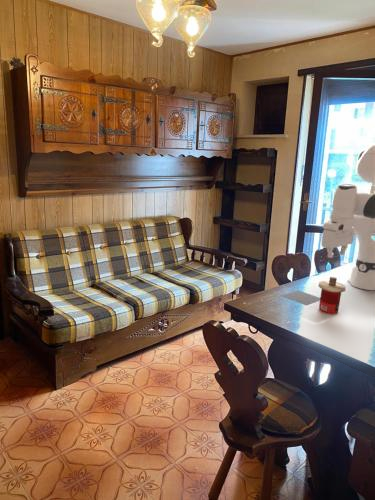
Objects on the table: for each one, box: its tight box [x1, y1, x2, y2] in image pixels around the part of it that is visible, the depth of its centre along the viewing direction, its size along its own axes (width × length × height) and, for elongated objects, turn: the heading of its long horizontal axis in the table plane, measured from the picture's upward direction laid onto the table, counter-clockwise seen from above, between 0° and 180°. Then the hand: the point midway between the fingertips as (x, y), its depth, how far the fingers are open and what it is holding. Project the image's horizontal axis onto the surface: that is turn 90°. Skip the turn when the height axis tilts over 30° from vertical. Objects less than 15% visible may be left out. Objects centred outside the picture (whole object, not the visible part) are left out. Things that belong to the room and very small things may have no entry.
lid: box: [318, 276, 347, 293], centre depth 166 cm, size 11×11×4 cm
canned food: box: [318, 289, 342, 315], centre depth 168 cm, size 8×8×11 cm
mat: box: [280, 289, 320, 306], centre depth 183 cm, size 14×14×1 cm
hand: (336, 256), depth 164 cm, fingers open, 8 cm apart
